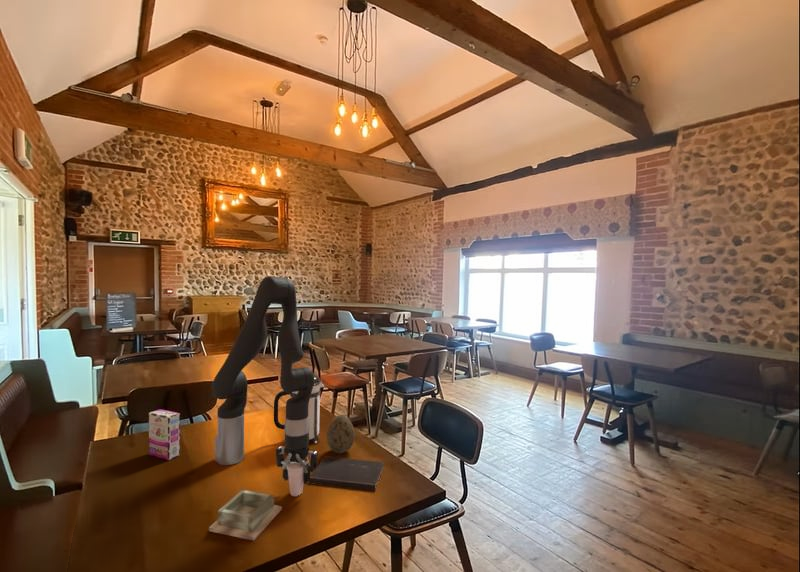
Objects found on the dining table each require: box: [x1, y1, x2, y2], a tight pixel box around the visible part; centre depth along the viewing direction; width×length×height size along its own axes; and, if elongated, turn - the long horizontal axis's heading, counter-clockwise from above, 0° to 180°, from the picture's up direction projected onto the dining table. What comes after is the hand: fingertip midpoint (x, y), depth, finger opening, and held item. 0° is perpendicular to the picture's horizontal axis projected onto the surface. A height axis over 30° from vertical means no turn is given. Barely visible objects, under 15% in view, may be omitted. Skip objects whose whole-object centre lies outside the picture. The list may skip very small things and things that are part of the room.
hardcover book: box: [308, 455, 386, 492], centre depth 139 cm, size 16×23×2 cm
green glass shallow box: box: [208, 489, 283, 541], centre depth 113 cm, size 14×14×5 cm
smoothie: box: [286, 460, 304, 497], centre depth 127 cm, size 6×6×14 cm
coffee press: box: [273, 373, 325, 444], centre depth 166 cm, size 17×16×30 cm
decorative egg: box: [326, 414, 356, 454], centre depth 156 cm, size 11×11×15 cm
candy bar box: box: [148, 408, 181, 461], centre depth 150 cm, size 11×5×16 cm, turn 68°
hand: (296, 480), depth 127 cm, fingers closed on smoothie, 6 cm apart
